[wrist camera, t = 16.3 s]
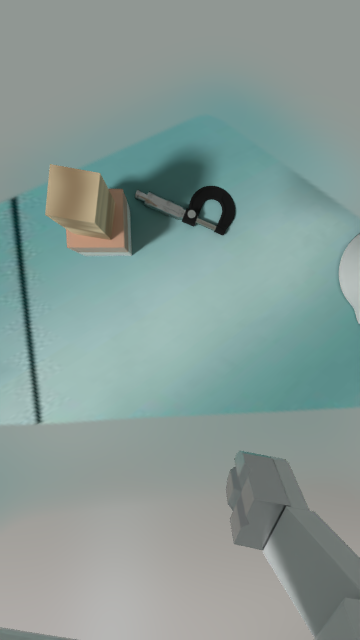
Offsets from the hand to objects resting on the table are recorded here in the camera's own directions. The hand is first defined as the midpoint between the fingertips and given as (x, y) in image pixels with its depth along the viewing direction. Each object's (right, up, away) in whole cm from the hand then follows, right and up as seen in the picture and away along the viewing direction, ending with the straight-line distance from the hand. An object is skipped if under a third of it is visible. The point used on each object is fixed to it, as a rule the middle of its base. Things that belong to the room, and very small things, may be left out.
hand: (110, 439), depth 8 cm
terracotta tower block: (-9, +17, +28) cm, 34 cm away
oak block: (-8, +16, +24) cm, 30 cm away
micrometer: (+3, +22, +32) cm, 40 cm away
